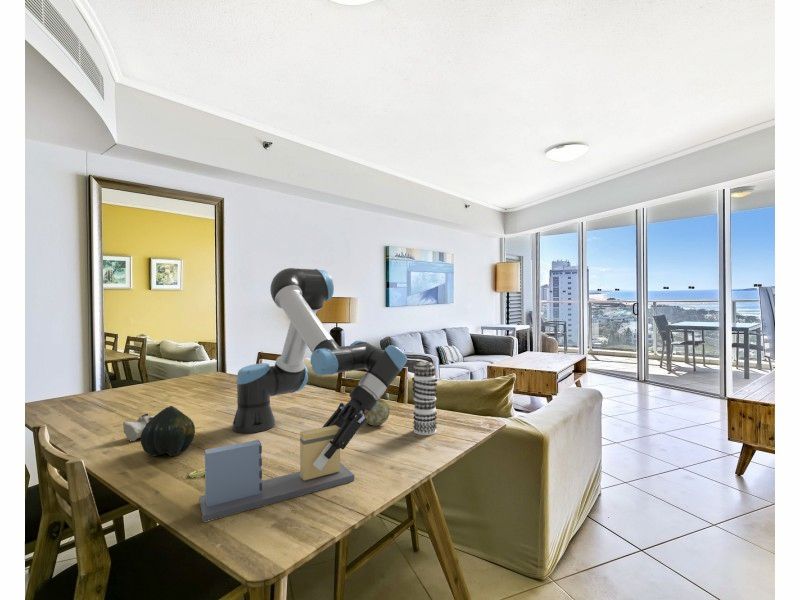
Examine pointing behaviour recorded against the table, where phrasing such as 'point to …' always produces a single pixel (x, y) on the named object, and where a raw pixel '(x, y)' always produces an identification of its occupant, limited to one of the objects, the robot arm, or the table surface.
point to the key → (197, 473)
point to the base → (276, 492)
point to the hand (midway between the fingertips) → (312, 463)
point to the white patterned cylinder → (424, 398)
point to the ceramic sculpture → (136, 427)
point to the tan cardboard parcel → (317, 452)
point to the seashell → (377, 413)
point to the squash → (168, 433)
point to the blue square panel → (233, 472)
